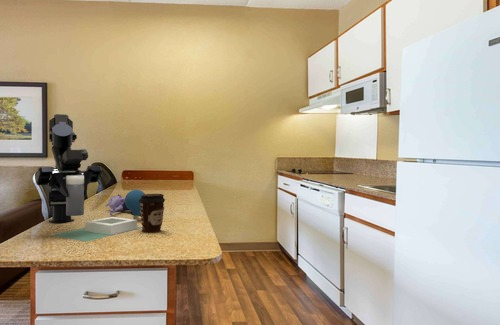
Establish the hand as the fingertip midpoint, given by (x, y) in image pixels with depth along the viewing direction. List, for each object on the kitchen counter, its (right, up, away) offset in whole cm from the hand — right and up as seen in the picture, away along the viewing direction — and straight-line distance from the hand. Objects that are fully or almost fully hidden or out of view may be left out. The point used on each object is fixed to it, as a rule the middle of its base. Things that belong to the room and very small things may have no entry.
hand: (76, 195), depth 122 cm
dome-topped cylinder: (-1, -6, +1) cm, 6 cm away
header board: (+4, -13, +8) cm, 16 cm away
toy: (+2, -12, +50) cm, 52 cm away
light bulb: (+8, -13, +33) cm, 37 cm away
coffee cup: (+20, -14, +11) cm, 27 cm away
